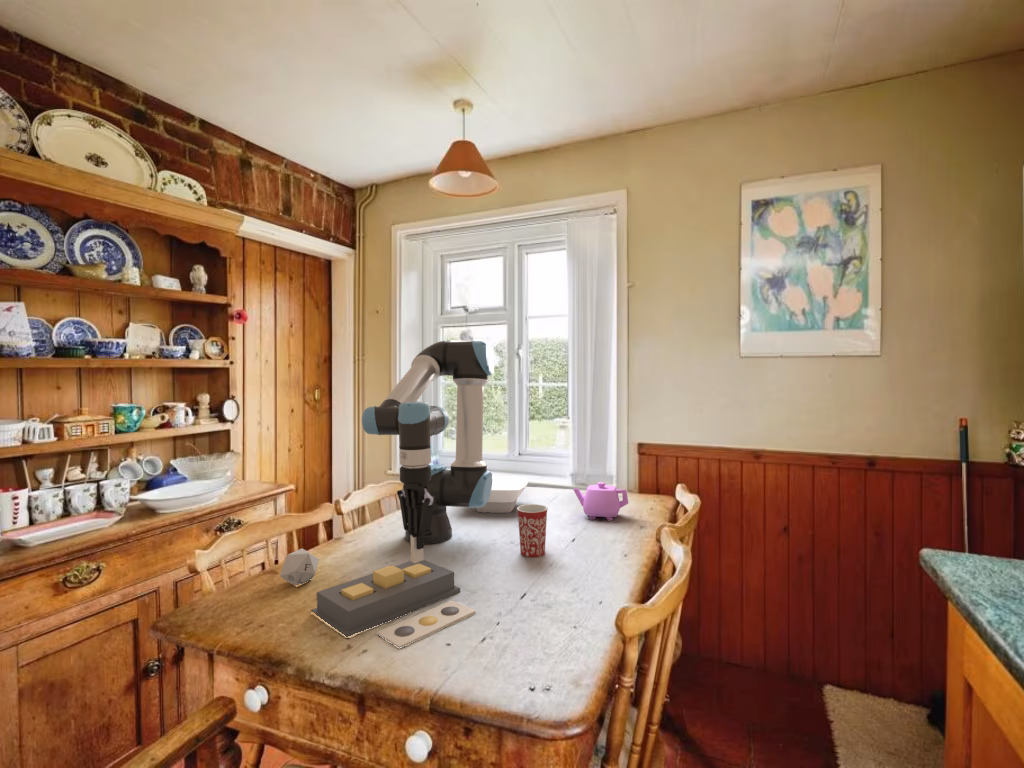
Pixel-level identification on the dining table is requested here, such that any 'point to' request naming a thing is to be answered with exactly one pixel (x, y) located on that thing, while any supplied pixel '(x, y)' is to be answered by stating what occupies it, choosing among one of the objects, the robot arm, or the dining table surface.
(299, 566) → the die
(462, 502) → the robot arm
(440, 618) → the card
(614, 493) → the teapot
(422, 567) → the button
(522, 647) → the dining table surface
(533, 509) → the mug
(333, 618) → the board
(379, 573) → the button
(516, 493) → the bowl
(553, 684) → the dining table surface
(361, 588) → the button
